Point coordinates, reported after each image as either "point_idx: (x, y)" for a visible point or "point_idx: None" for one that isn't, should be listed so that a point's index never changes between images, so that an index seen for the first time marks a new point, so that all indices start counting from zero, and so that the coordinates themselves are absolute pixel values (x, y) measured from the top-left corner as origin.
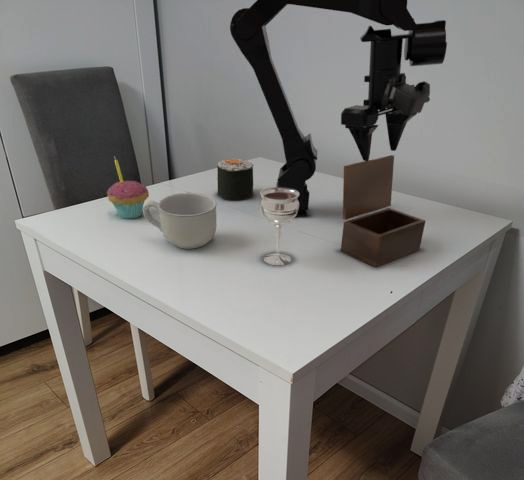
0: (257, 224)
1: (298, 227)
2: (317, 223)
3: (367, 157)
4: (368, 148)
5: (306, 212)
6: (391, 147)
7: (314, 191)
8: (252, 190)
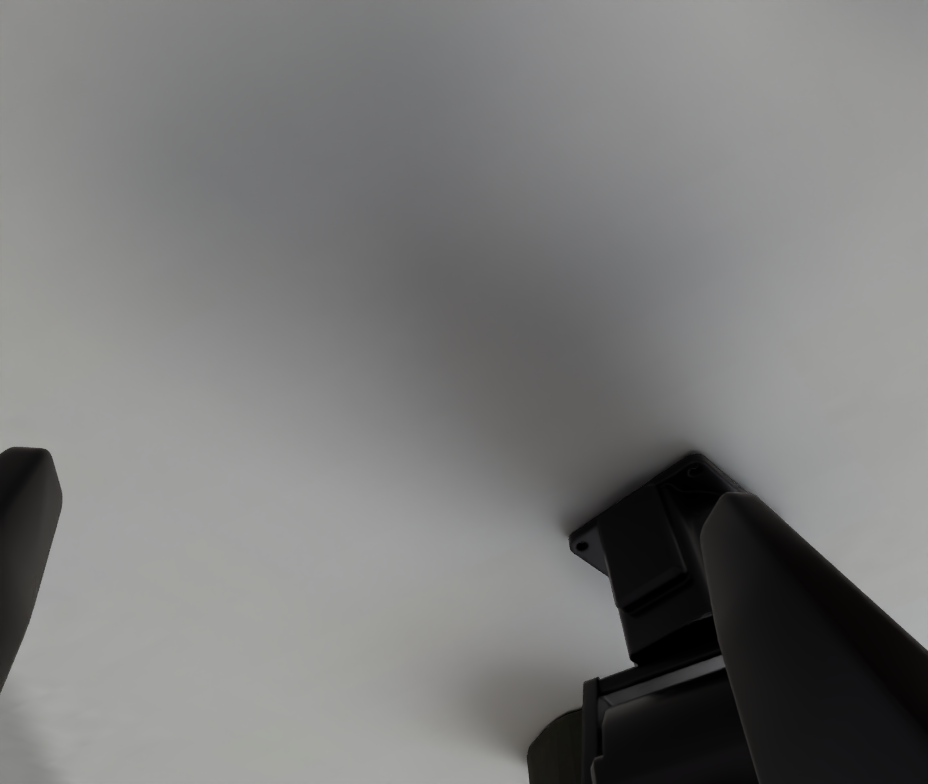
0: (922, 543)
1: (887, 399)
2: (774, 358)
3: (787, 525)
4: (891, 634)
5: (682, 472)
6: (45, 529)
7: (296, 600)
8: (580, 736)
